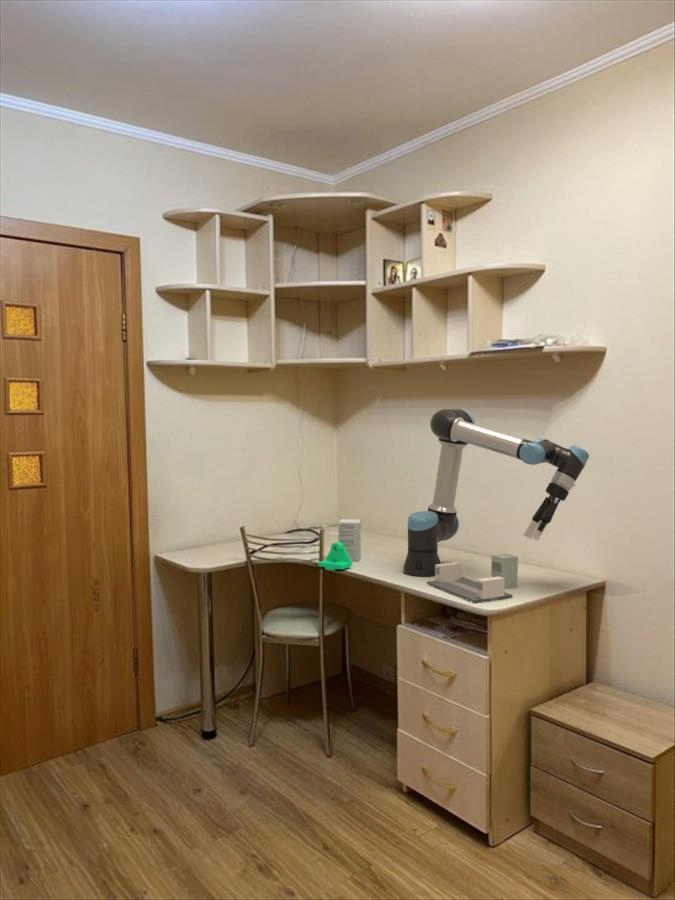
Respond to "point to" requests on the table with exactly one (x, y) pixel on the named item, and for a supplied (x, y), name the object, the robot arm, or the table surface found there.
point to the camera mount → (336, 558)
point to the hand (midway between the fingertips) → (530, 538)
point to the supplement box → (350, 537)
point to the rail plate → (468, 584)
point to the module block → (505, 569)
